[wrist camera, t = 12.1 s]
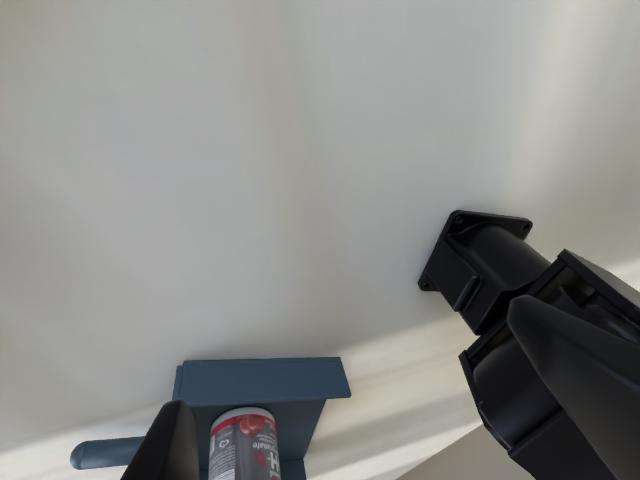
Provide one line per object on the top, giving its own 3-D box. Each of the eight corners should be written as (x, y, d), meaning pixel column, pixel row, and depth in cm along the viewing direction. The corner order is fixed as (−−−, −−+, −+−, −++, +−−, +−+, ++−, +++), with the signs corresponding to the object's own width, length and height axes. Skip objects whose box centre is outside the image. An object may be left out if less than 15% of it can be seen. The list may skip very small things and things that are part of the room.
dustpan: (340, 356, 29) (351, 394, 26) (301, 457, 37) (307, 493, 34) (65, 363, 23) (42, 412, 20) (90, 480, 31) (77, 526, 28)
